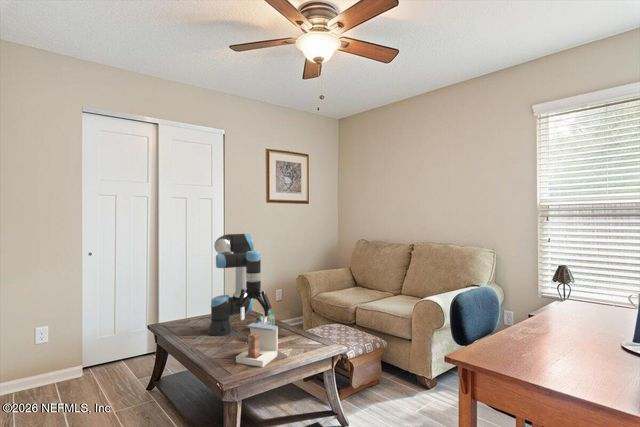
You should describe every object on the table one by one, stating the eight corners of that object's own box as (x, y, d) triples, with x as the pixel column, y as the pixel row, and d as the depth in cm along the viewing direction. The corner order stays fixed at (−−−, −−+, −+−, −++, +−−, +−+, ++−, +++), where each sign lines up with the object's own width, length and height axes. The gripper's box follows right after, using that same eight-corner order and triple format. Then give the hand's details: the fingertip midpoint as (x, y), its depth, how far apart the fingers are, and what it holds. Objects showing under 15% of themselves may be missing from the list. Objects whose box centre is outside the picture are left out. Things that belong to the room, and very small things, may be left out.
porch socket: (235, 362, 187) (235, 331, 187) (252, 351, 202) (252, 322, 202) (262, 367, 182) (262, 335, 182) (277, 355, 196) (277, 326, 196)
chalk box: (255, 329, 240) (255, 307, 240) (266, 326, 247) (266, 305, 247) (264, 332, 234) (264, 310, 234) (275, 329, 241) (275, 307, 241)
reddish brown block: (248, 362, 187) (248, 335, 187) (252, 359, 191) (252, 333, 191) (254, 363, 186) (254, 336, 186) (259, 360, 190) (258, 333, 190)
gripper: (229, 280, 190) (229, 320, 190) (270, 283, 181) (271, 325, 181) (237, 277, 197) (237, 316, 197) (277, 280, 188) (278, 321, 188)
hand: (253, 321), depth 189 cm, fingers open, 13 cm apart
